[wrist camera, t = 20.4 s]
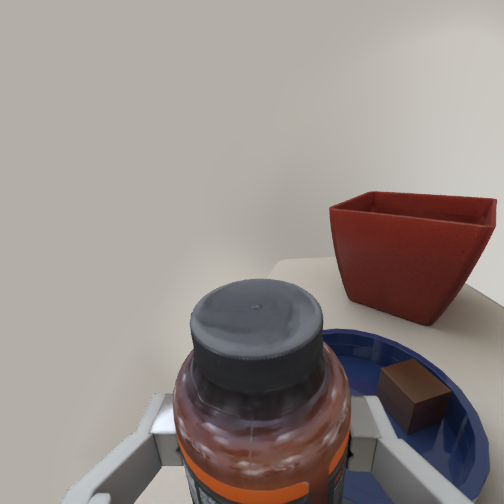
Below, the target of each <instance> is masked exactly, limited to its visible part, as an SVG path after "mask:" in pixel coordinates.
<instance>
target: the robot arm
mask: <svg viewBox="0 0 504 504" xmlns="http://www.w3.org/2000/svg"><path fill="white" fill-rule="evenodd" d="M161 466H184V463H183V459H182V455H181V452H180V447H179V443H178V437H177V433H176V428H175V424H174V414H173V394H159V393H157V394H156V393H155V394H154V396H153V397H152V398H151V400H150V403H149V405H148V407H147V409H146V411H145V413H144V415H143V417H142V419H141V421H140V424H139V426H138V428H137V430H136V432H135V433H131V434H130V435H129V436H128V437H127V438H126V439H124V440H123V441H122V442H121V443H120V444H119V445H118V446H116V447H115V448H114V449H113V450H112V451H111V452H110V453H109V454H107V455H106V456H105V457H104V458H103V459H102V460H101V461H100V462H98V463H97V464H96V465H95V466H94V467H93V468H92V469H91V470H90V471H88V472H87V473H86V474H85V475H84V476H83V477H82V478H80V479H79V480H78V481H77V482H76V483H75V484H74V485H73V486H71V487H70V488H69V489H68V490H67V492H66V493H65V495H64V497H63V498H62V500H61V501H60V503H59V504H134V502H135V501H136V500H137V498H138V497H139V496H140V495H141V493H142V492H143V491H144V490H145V488H146V487H147V486H148V484H149V483H150V482H151V481H152V479H153V478H154V477H155V476H156V474H157V473H158V472H159V470H160V469H161V468H162V467H161ZM346 468H347V471H360V472H371V474H372V475H373V477H374V478H375V479H376V480H377V482H378V483H379V484H380V486H381V487H382V488H383V489H384V491H385V492H386V493H387V495H388V496H389V497H390V498H391V500H392V501H393V502H394V504H474V503H473V502H472V501H470V500H469V499H468V498H467V497H466V496H465V495H464V494H463V493H462V492H460V491H459V490H458V489H457V488H456V487H455V486H454V485H453V484H452V483H450V482H449V481H448V480H447V479H446V478H445V477H444V476H443V475H442V474H440V473H439V472H438V471H437V470H436V469H435V468H434V467H433V466H432V465H430V464H429V463H428V462H427V461H426V460H425V459H424V458H423V457H422V456H420V455H419V454H418V453H417V452H416V451H415V450H414V449H413V448H412V447H410V446H409V445H408V444H407V443H406V442H405V441H404V440H403V439H398V438H397V436H396V434H395V432H394V429H393V427H392V425H391V423H390V421H389V419H388V417H387V415H386V413H385V410H384V408H383V406H382V404H381V402H380V400H379V398H378V397H377V396H362V395H351V422H350V432H349V445H348V454H347V461H346Z"/></svg>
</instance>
